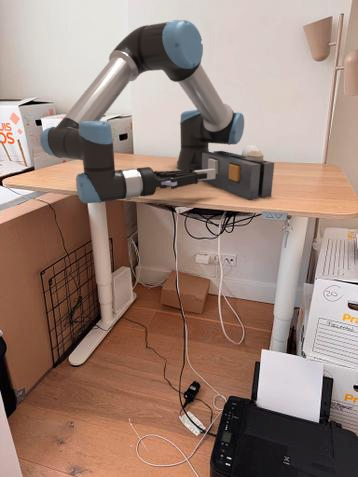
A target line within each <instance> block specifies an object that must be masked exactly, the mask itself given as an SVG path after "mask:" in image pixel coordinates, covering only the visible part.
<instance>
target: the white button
mask: <svg viewBox="0 0 358 477" xmlns="http://www.w3.org/2000/svg"><path fill="white" fill-rule="evenodd" d="M218 162H219V159H216V158H212V159H208V169H216V174H218Z"/></svg>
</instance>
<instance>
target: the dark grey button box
mask: <svg viewBox="0 0 358 477" xmlns="http://www.w3.org/2000/svg"><path fill="white" fill-rule="evenodd" d="M212 158H216V159H219V162H218V174H216V175H215V179H209V180H201V182H204V183H206V184H209V185H211V186H214V187H216V188H218V189H222V190H223V191H226V192H229V193H231V194H233V195H236V196H238V197H241V198H243V199H246V200H249V201H251V200H258V198H261V199H264V198H271V197H272V192H273V183H274V182H273V181H274V171H275V162H272V161H268V160H264V159H263V160H260V159H256V158H251V157H247V156H243V155H242V154H237V153H233V152H228V151H225V150H217V151H212V152H211V151H209V152H202V170H205V169H208V159H212ZM229 164H238V165H240V181H238V182H236V181H234V180H231V179H229Z"/></svg>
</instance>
